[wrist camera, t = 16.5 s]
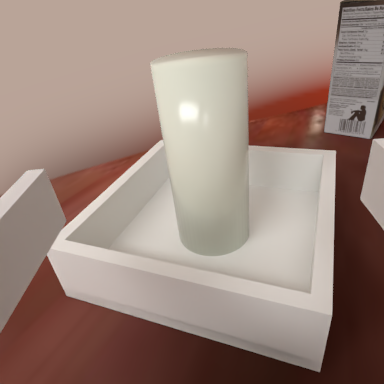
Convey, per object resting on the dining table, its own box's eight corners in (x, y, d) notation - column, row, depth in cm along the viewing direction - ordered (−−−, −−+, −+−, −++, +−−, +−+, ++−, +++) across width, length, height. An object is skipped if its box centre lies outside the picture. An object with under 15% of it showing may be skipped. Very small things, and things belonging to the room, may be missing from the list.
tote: (328, 196, 31) (335, 150, 28) (320, 372, 17) (332, 315, 14) (167, 178, 37) (160, 140, 35) (66, 295, 24) (43, 246, 21)
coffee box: (340, 112, 50) (358, -6, 41) (386, 117, 46) (416, -11, 38) (321, 132, 44) (338, 0, 35) (372, 140, 40) (404, -6, 32)
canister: (256, 215, 28) (256, 45, 20) (239, 262, 23) (232, 66, 16) (194, 206, 30) (174, 50, 23) (167, 248, 25) (131, 69, 18)
